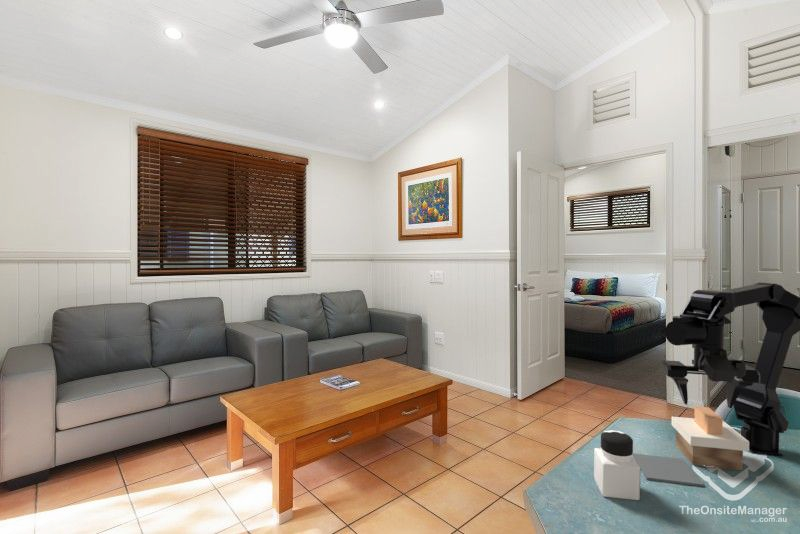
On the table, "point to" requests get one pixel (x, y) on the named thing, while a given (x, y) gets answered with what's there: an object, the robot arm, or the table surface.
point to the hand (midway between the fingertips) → (707, 405)
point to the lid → (709, 431)
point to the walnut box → (710, 455)
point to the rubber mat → (667, 470)
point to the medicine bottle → (617, 466)
